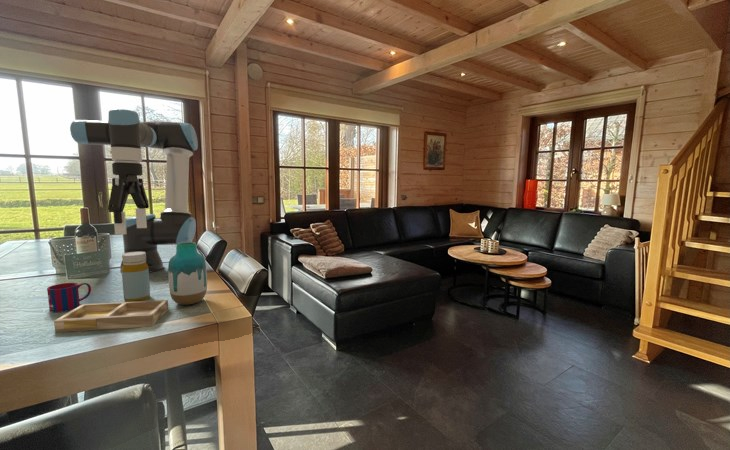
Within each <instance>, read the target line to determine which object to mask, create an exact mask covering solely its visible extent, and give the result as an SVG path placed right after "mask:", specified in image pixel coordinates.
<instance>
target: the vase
mask: <svg viewBox="0 0 730 450" xmlns="http://www.w3.org/2000/svg"><path fill="white" fill-rule="evenodd" d="M175 246H176V247H175V248H176V249H175V250H176V251H175V254H174V255H173V256H171V258H170V259H169V261H168V267H167V269H168V270H167V277H168V288H169V294H170V298H171V299H172V302H175V304H178V305H182V306H183V305H186V306H187V305H194V304H196V303H199V302H200V301H202V300H203V299H204V298H205V296H206V294H207V288H208V271H207V270H208V269H207V265H206V259H205V257H204V256H203V255H202V254H200V253H198V250H197V242H196V241H191V242H182V243H178V244H177V245H175Z"/></svg>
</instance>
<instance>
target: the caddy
mask: <svg viewBox="0 0 730 450" xmlns="http://www.w3.org/2000/svg"><path fill="white" fill-rule="evenodd" d="M168 310H169V300H168V299H165V300H164V299H163V300H161V299H160V300H143V301H137V302H127V301H120V302H119V301H117V302H100V303H99V302H97V303H96V302H95V303H82V304H80V306H79V307H77V308H75V309H72V310H69V312H66V313H65V314H63V315H61V316H60V317H59V318H56V319H55V320H53V323H54V324H53V325H54V333H64V332H80V331H93V330H94V331H97V330H111V329H113V330H114V329H126V328H127V329H128V328H142V327H153V326H154V325H155V324H156V323H157V322H158V321H159V320H160V319H161V318H162V317H163V316H164V315H165V314H166V313H167V312H168Z"/></svg>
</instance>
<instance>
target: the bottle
mask: <svg viewBox="0 0 730 450" xmlns="http://www.w3.org/2000/svg"><path fill="white" fill-rule="evenodd" d="M121 258H122V260H123V267H122V273H121V279H122V280H121V281H122V282H121V283H122V291H123V292H122V293H123V294H122V295H123V300H124V302H137V301H147V299H149V297H150V296H151V289H150V285H151V284H150V272H149V270H148V265H147V263H146V253H145V252H129V253H124V252H123V253H122V255H121ZM122 260H121V261H122Z"/></svg>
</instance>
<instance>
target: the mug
mask: <svg viewBox="0 0 730 450" xmlns="http://www.w3.org/2000/svg"><path fill="white" fill-rule="evenodd" d="M83 285H86V286H87V288H88V290H87V293H86V294H85V295H84V296H83V297H81V298H80V291H79V288H80V287H82V286H83ZM46 290H47V292H46V293H47V299H48V308H49V312H51V313H61V312H62V313H63V312H67V311H72V310H74V309H75V308H77V307H79V306H80V305H81V304H80V302H81V301H83V300H86V299H87V298H88V297H89V296H90V295H91V292H92V287H91V284H89V283H87V282H82V283H79V284H78V283H76V282H64V283H58V284H57V283H56V284H54V285H53V284H52V285H50V286H47V288H46Z"/></svg>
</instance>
